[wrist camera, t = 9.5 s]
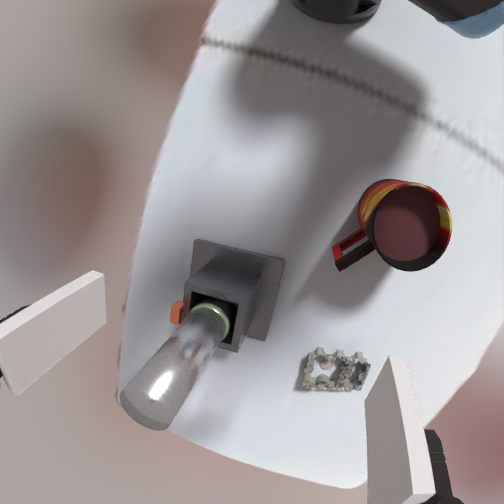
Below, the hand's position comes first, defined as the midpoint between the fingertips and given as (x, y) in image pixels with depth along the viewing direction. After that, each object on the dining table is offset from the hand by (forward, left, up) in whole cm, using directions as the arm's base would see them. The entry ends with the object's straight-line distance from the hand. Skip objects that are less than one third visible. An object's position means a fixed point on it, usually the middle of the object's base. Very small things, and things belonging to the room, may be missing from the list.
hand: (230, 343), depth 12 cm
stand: (+13, -7, -33) cm, 36 cm away
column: (+14, -7, -25) cm, 29 cm away
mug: (-2, +13, -33) cm, 36 cm away
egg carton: (+23, +13, -34) cm, 42 cm away
